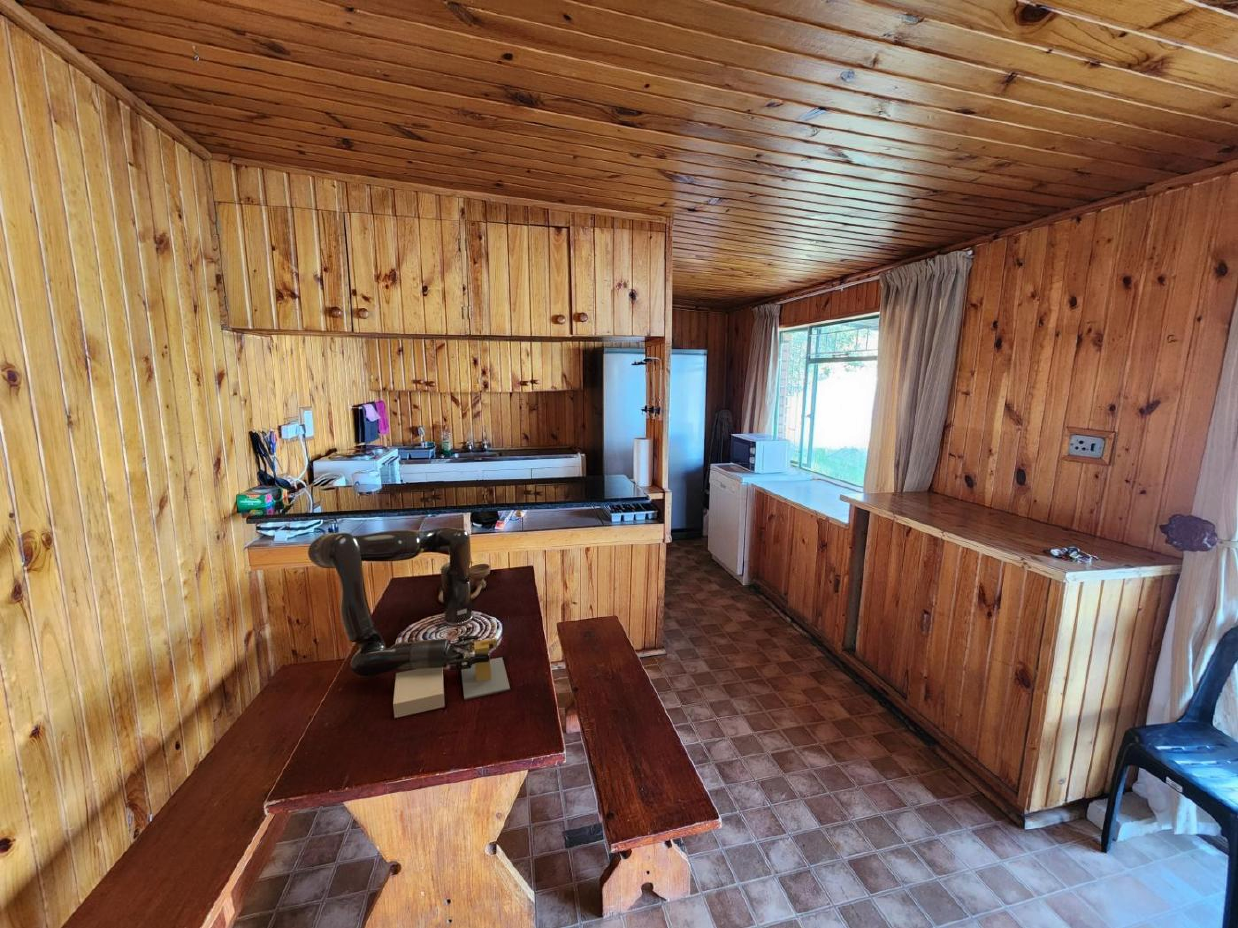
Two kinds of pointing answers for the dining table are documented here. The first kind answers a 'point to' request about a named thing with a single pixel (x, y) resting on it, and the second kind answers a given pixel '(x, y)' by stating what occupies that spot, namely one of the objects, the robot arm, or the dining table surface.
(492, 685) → the left mat
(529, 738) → the dining table surface
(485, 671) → the golden block with ridge
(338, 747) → the dining table surface
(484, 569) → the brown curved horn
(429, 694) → the beige rectangular block
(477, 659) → the robot arm
